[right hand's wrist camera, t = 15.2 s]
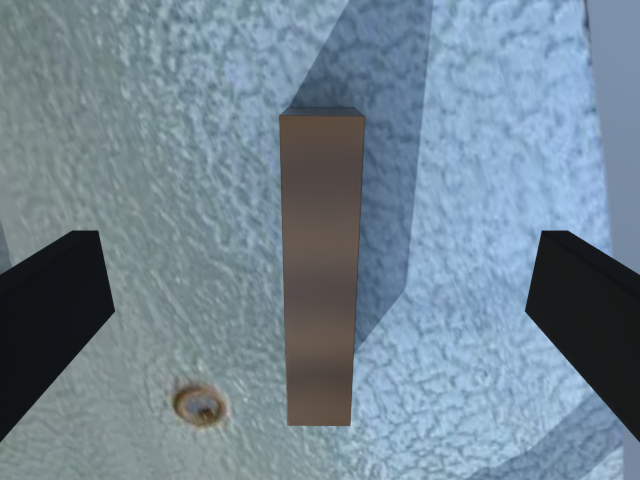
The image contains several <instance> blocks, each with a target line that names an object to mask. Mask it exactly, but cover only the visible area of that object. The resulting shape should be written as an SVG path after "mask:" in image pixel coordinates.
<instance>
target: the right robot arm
mask: <svg viewBox="0 0 640 480" xmlns="http://www.w3.org/2000/svg"><path fill="white" fill-rule="evenodd" d="M114 312H115V309H114V304H113V299H112V294H111V289H110V285H109V280H108V275H107V270H106V266H105V261H104V256H103V251H102V247H101V242H100V237H99V232H98V231H71V232H69V233H67V234H66V235H64V236H63V237H61V238H59V239H58V240H56V241H55V242H53V243H51V244H50V245H48V246H46V247H45V248H43V249H42V250H40V251H38V252H37V253H35V254H33V255H32V256H30V257H29V258H27V259H25V260H24V261H22V262H20V263H19V264H17V265H16V266H14V267H12V268H11V269H9V270H8V271H6V272H4V273H3V274H1V275H0V442H1V441H2V440H3V439H4V438H5V436H6V435H7V434H8V433H9V432H10V431H11V430H12V428H13V427H14V426H15V425H16V424H17V423H18V422H19V420H20V419H21V418H22V417H23V416H24V415H25V414H26V412H27V411H28V410H29V409H30V408H31V407H32V406H33V404H34V403H35V402H36V401H37V400H38V399H39V398H40V396H41V395H42V394H43V393H44V392H45V391H46V390H47V388H48V387H49V386H50V385H51V384H52V383H53V382H54V380H55V379H56V378H57V377H58V376H59V375H60V374H61V373H62V371H63V370H64V369H65V368H66V367H67V366H68V365H69V363H70V362H71V361H72V360H73V359H74V358H75V357H76V355H77V354H78V353H79V352H80V351H81V350H82V349H83V347H84V346H85V345H86V344H87V343H88V342H89V341H90V339H91V338H92V337H93V336H94V335H95V334H96V333H97V331H98V330H99V329H100V328H101V327H102V326H103V325H104V323H105V322H106V321H107V320H108V319H109V318H110V317H111V315H112V314H113V313H114ZM525 312H526V313H527V314H528V315H529V317H530V318H531V319H532V320H533V321H534V322H535V323H536V325H537V326H538V327H539V328H540V329H541V330H542V331H543V333H544V334H545V335H546V336H547V337H548V338H549V339H550V341H551V342H552V343H553V344H554V345H555V346H556V347H557V349H558V350H559V351H560V352H561V353H562V354H563V355H564V357H565V358H566V359H567V360H568V361H569V362H570V363H571V365H572V366H573V367H574V368H575V369H576V370H577V371H578V373H579V374H580V375H581V376H582V377H583V378H584V379H585V380H586V382H587V383H588V384H589V385H590V386H591V387H592V388H593V390H594V391H595V392H596V393H597V394H598V395H599V396H600V398H601V399H602V400H603V401H604V402H605V403H606V404H607V406H608V407H609V408H610V409H611V410H612V411H613V412H614V414H615V415H616V416H617V417H618V418H619V419H620V420H621V422H622V423H623V424H624V425H625V426H626V427H627V428H628V430H629V431H630V432H631V433H632V434H633V435H634V436H635V438H636V439H637V440H638V441H639V442H640V275H639V274H637V273H636V272H634V271H632V270H631V269H629V268H628V267H626V266H624V265H623V264H621V263H620V262H618V261H616V260H615V259H613V258H611V257H610V256H608V255H607V254H605V253H603V252H602V251H600V250H598V249H597V248H595V247H594V246H592V245H590V244H589V243H587V242H585V241H584V240H582V239H581V238H579V237H577V236H576V235H574V234H573V233H571V232H569V231H542V232H541V237H540V242H539V247H538V251H537V256H536V261H535V266H534V270H533V275H532V280H531V285H530V289H529V294H528V299H527V304H526V309H525Z"/></svg>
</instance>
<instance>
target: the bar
mask: <svg viewBox="0 0 640 480" xmlns="http://www.w3.org/2000/svg"><path fill="white" fill-rule="evenodd" d="M279 121H280V160H281V200H282V239H283V278H284V317H285V356H286V395H287V425H288V426H350V422H351V401H352V380H353V359H354V338H355V317H356V296H357V275H358V254H359V233H360V212H361V191H362V170H363V149H364V128H365V116H364V115H363V114H362V113H360V112H359V111H358V110H357V109H356V108H350V107H288V108H287V109H286V110H285V111H284V112H283V113H282V114H281V115H280V116H279Z"/></svg>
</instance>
